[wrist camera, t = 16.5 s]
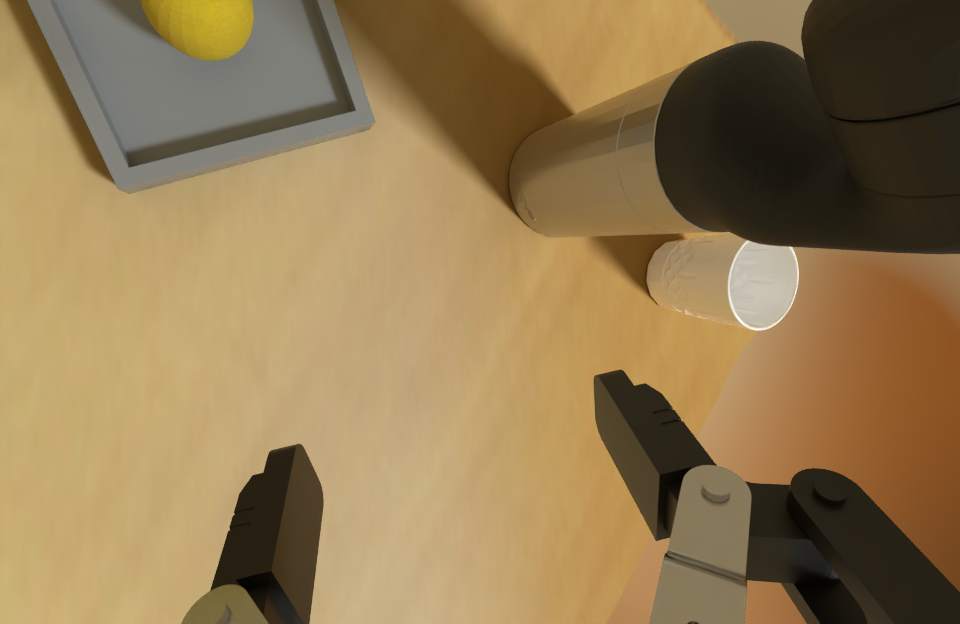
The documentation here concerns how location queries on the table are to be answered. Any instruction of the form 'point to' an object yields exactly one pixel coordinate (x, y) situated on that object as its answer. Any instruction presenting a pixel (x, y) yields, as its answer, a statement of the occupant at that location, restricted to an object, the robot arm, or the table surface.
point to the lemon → (202, 25)
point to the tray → (204, 87)
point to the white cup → (725, 280)
